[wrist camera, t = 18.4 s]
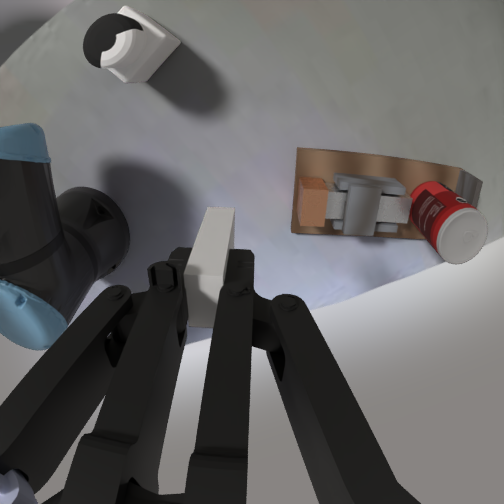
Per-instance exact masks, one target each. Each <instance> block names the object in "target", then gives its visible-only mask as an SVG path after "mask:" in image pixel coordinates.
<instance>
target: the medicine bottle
mask: <svg viewBox="0 0 504 504" xmlns="http://www.w3.org/2000/svg"><path fill="white" fill-rule="evenodd" d="M180 43H181V41H180V40H179V39H177V38H176V37H175V36H174V35H172V34H171V33H170V32H168V31H167V30H166V29H165V28H163V27H162V26H161V25H159V24H158V23H157V22H155V21H154V20H153V19H151V18H150V17H149V16H147V15H146V14H144V13H142V12H139V11H137V10H135V9H133V8H131V7H129V6H123V7H122V9H121V10H120V11H119V12H118V13H113V14H108V15H105V16H102V17H101V18H99V19H97V20H96V21H95V22H94V23H93V24H92V25H91V26H90V28H89V29H88V31H87V32H86V35H85V38H84V42H83V51H84V55H85V57H86V59H87V60H88V62H89V63H90V64H92V65H93V66H95V67H98V68H107V69H109V70H110V71H111V72H112V73H113V74H115V75H116V76H117V77H118V78H119V79H121V80H122V81H123V82H124V83H136V82H146V81H148V79H149V78H150V77H151V76H152V75H153V74H154V72H155V71H156V70H157V69H158V68H159V67H160V65H161V64H162V63H163V62H164V61H165V60H166V59H167V58H168V57H169V55H170V54H171V53H172V52H173V51H174V50H175V49H176V48H177V47H178V46H179V45H180Z"/></svg>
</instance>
